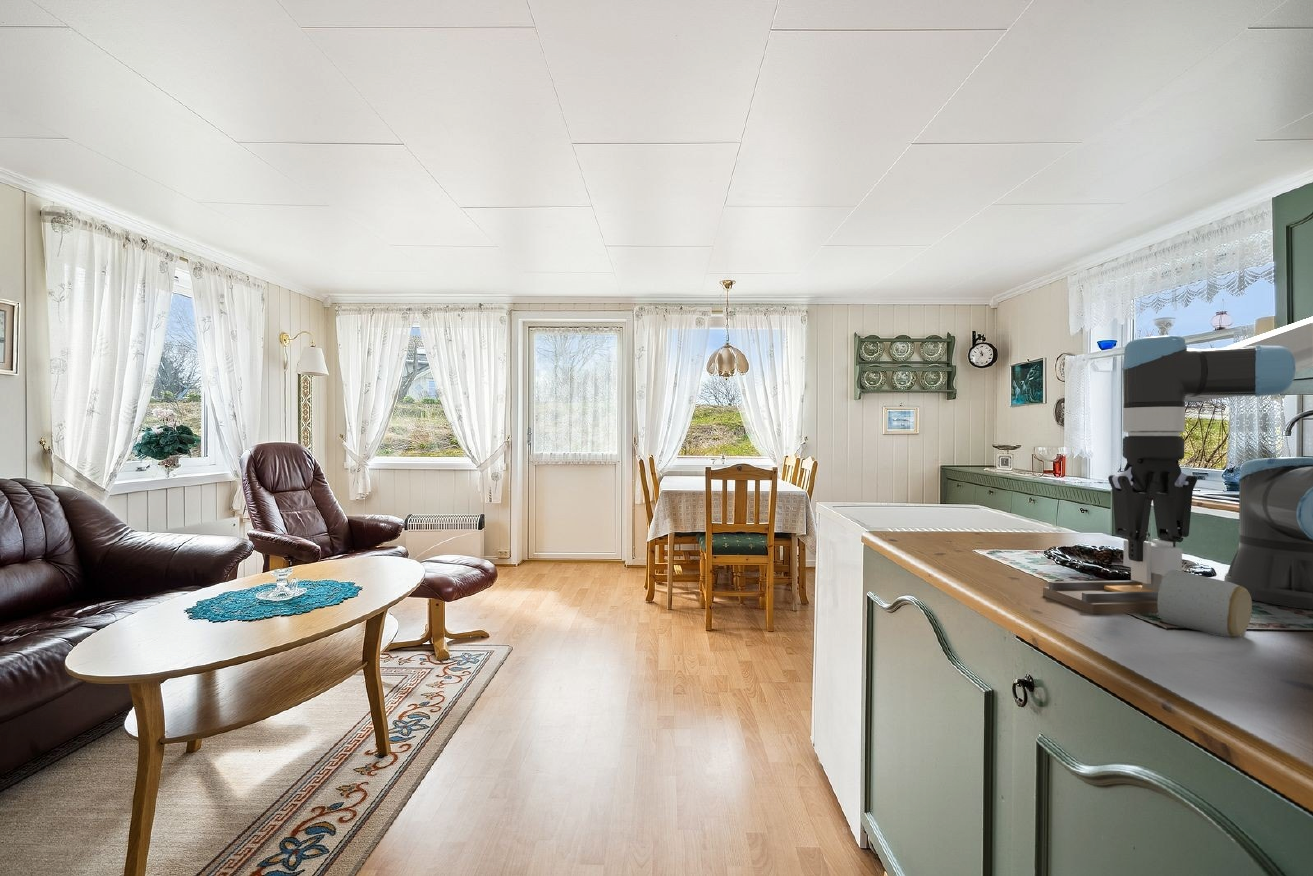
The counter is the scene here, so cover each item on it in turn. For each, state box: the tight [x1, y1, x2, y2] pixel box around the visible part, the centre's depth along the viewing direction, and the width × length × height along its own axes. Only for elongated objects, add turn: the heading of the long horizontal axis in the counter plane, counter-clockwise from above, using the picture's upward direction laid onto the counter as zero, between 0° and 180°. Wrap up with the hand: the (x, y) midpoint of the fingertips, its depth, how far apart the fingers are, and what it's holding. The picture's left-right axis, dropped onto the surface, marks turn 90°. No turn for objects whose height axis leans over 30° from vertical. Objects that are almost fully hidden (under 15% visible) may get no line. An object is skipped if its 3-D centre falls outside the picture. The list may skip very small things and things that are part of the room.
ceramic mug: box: [1157, 570, 1253, 638], centre depth 80 cm, size 11×8×8 cm
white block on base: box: [1104, 539, 1183, 592], centre depth 92 cm, size 11×7×8 cm, turn 95°
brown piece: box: [1042, 579, 1159, 615], centre depth 92 cm, size 18×10×3 cm, turn 95°
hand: (1151, 581), depth 93 cm, fingers closed on white block on base, 3 cm apart
